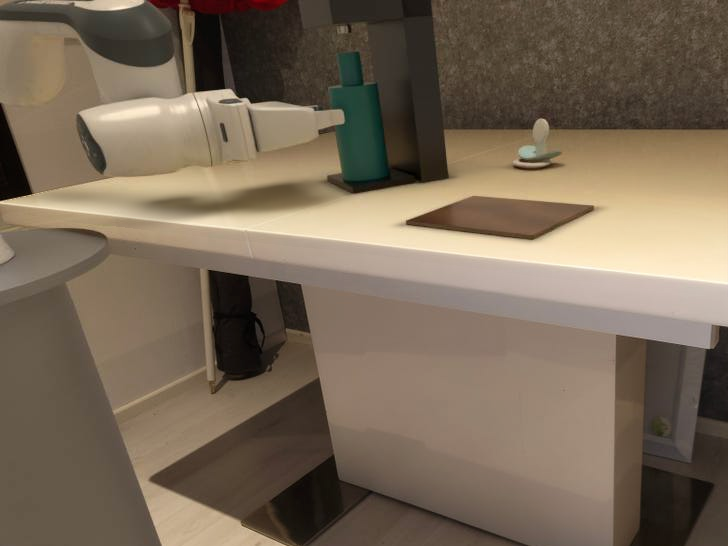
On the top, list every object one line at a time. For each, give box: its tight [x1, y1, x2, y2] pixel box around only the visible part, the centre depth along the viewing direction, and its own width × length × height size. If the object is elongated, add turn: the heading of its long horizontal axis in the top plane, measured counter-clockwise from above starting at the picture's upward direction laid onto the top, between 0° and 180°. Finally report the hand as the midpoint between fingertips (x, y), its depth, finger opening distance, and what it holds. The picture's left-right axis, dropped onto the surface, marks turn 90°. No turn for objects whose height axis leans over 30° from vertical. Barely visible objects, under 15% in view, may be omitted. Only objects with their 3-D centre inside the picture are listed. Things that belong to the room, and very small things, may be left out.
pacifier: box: [512, 117, 563, 169], centre depth 95 cm, size 7×6×6 cm
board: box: [405, 195, 595, 240], centre depth 72 cm, size 12×16×1 cm
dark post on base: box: [297, 0, 449, 194], centre depth 91 cm, size 14×14×26 cm
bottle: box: [327, 50, 390, 181], centre depth 92 cm, size 7×7×16 cm
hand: (331, 113), depth 91 cm, fingers open, 8 cm apart
